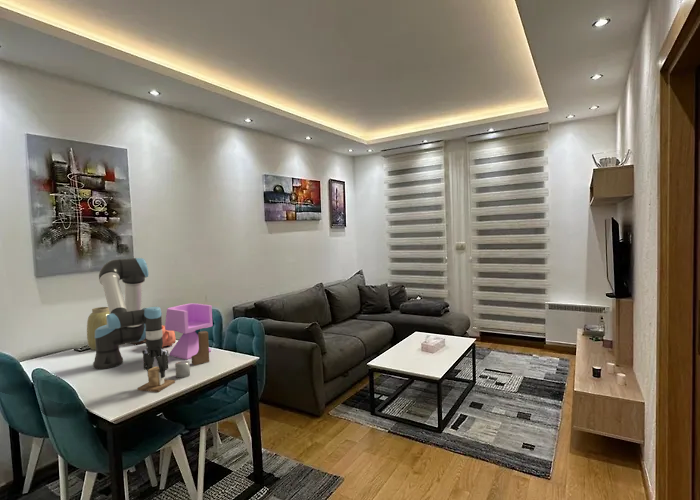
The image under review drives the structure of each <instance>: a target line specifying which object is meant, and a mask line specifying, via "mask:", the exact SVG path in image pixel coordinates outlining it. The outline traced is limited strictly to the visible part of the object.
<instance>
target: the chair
mask: <svg viewBox="0 0 700 500" xmlns="http://www.w3.org/2000/svg"><path fill="white" fill-rule="evenodd" d="M213 325H214V324H213V307H212V304H211V305H210V304H205V303H204V304H202V303H197V302H196V303H184V304H181V305H174V306H171V307H168V308H166V315H165V323H164V326H165V330H168V331H174V332H178V333H180V334H182V335H181V336H180V337H179V339H178V341H177V342H175V344H174V346H173V348H171V350H170V352H169V357H175V358H179V359H181V358H182V360H185V359H186V360H185V361H188V359H189V360H192V358H191V357H192V356H194V355H196V354H197V353H198V350H199V340H198V333H197V332H196V331H198V330H201V329H208V328H211V327H213ZM211 352H212V349H211V348H210V347H209V353H211Z"/></svg>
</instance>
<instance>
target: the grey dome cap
mask: <svg viewBox="0 0 700 500" xmlns="http://www.w3.org/2000/svg"><path fill="white" fill-rule="evenodd" d="M190 365H191V364H190V361H188V360H181V361H178V362H175V364H174V367H175V378H177V379H185V378H188V377H190V375H191V366H190Z"/></svg>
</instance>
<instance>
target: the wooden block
mask: <svg viewBox="0 0 700 500" xmlns="http://www.w3.org/2000/svg"><path fill="white" fill-rule="evenodd" d="M197 335H198V340H199V350H198V353H197V354H196V355H194V356H192V357H191V364H192V365H193V366H197V365H202V364H205V363H210V352H209V348H210V347H209V346H210V344H209V343H210V342H209V332H208V331H206V330H202V331H198V333H197Z"/></svg>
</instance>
